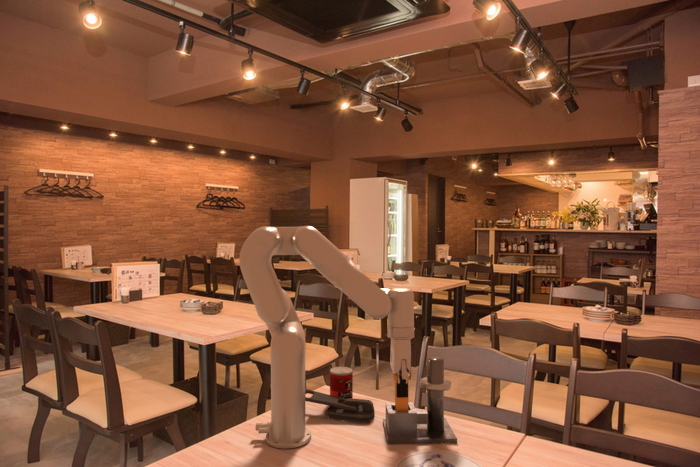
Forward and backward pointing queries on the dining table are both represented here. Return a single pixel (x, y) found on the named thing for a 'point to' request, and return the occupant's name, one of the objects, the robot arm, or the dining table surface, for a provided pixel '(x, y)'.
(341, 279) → the robot arm
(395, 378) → the orange tapered block
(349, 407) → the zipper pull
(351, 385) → the canned food
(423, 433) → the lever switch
